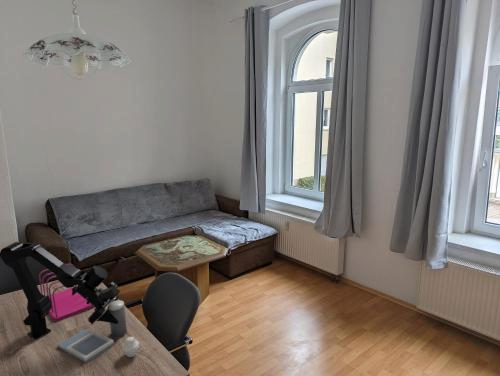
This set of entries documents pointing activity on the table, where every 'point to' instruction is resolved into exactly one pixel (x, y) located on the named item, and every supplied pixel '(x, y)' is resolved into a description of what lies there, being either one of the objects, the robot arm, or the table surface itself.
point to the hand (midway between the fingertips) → (120, 318)
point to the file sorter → (64, 300)
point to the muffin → (130, 346)
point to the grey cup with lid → (118, 318)
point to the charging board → (86, 345)
